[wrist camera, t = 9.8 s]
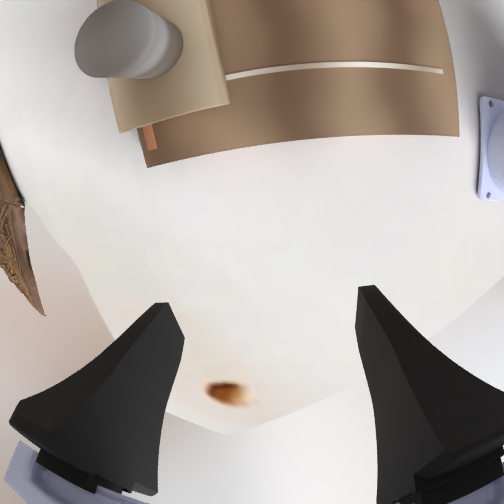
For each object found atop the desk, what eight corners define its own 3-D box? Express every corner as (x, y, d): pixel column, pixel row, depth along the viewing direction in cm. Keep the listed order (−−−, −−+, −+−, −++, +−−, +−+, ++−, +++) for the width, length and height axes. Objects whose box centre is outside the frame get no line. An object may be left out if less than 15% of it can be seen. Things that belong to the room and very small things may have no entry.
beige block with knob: (204, -49, 8) (158, -112, 2) (235, 103, 14) (196, 106, 7) (122, -19, 9) (46, -52, 3) (147, 125, 15) (62, 154, 8)
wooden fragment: (-30, 118, 15) (-36, 121, 14) (18, 97, 14) (10, 98, 13) (16, 301, 28) (12, 306, 27) (67, 320, 28) (63, 326, 27)
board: (413, -26, 8) (426, -35, 6) (443, 131, 14) (460, 136, 12) (128, 4, 11) (113, -3, 9) (160, 160, 17) (146, 168, 15)
